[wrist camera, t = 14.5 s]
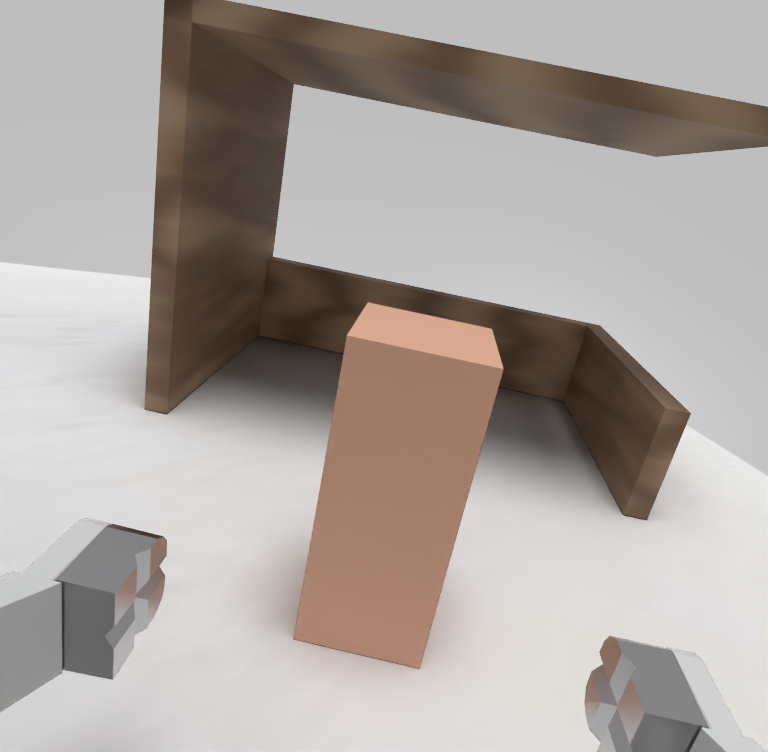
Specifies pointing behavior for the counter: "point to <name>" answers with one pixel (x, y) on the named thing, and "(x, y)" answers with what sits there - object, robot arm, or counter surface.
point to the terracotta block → (395, 480)
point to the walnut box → (352, 292)
